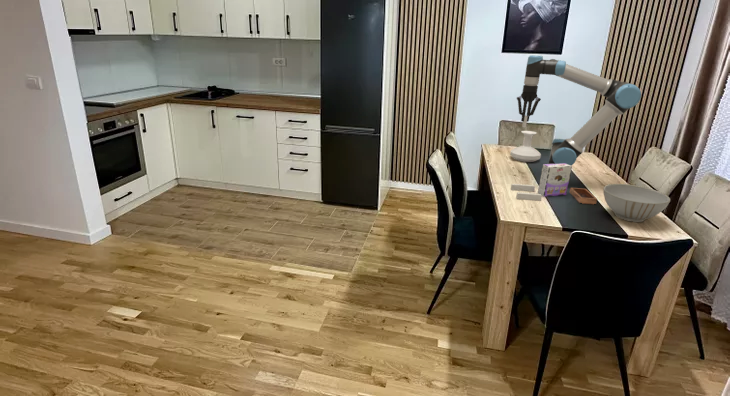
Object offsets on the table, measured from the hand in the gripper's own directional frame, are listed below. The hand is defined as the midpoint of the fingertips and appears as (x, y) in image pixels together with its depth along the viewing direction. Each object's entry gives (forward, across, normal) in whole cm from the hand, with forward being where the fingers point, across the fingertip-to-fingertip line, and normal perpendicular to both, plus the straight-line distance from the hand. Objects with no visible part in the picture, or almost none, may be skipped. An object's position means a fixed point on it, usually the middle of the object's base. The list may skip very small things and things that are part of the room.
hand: (523, 127), depth 243 cm
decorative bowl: (+31, -42, +52) cm, 74 cm away
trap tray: (+30, -28, +30) cm, 51 cm away
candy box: (+31, -14, +26) cm, 43 cm away
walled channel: (+30, +1, +30) cm, 43 cm away
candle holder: (+31, -15, -44) cm, 56 cm away
